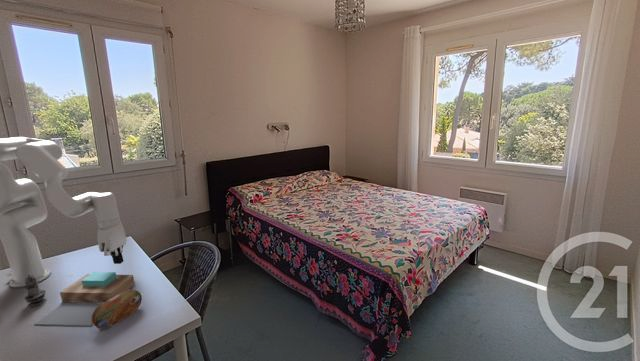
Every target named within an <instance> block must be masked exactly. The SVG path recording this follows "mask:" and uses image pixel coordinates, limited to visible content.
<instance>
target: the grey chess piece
mask: <svg viewBox="0 0 640 361" xmlns="http://www.w3.org/2000/svg"><path fill="white" fill-rule="evenodd" d="M25 283H26V286H24V287H25V289H26V290H27V294H26V295H25V296H24V297H23V300H25V301H26V303H28V304H27V308H30V309H32V308H36V307H40V306H41V305H43V304H45V303H46V302H47V301H48V300H47V298H46V297H45V295H46V290H44V289H40V287H39V284H40V282H37V281H36V278H35V276H30V275H28V277H27V278H26V279H25Z"/></svg>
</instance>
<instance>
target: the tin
mask: <svg viewBox="0 0 640 361" xmlns="http://www.w3.org/2000/svg"><path fill="white" fill-rule="evenodd" d="M142 297H143V296H142V294H141V292H140V291H138V290H136V289H128V290H125V291H123V292H121V293H120V294H118V295H116V296H114V297H113V298H111V299H109V300H107V301H105V302H101V303H102V304H100V305H99V306H98V307H97V308H96V309H95V310H94V312H93V314H92V323H93V325H92V326H94V327H95V328H98V329H99V330H107V329H110V328H112V327H114V326H115V325H117V324H118V323H120V322H122V321H123V320H125V319H126V318H127V317H129V316H131V315H132V314H134V313H135V312H137V310H138V309H139V308H140V306H141V304H142Z"/></svg>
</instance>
